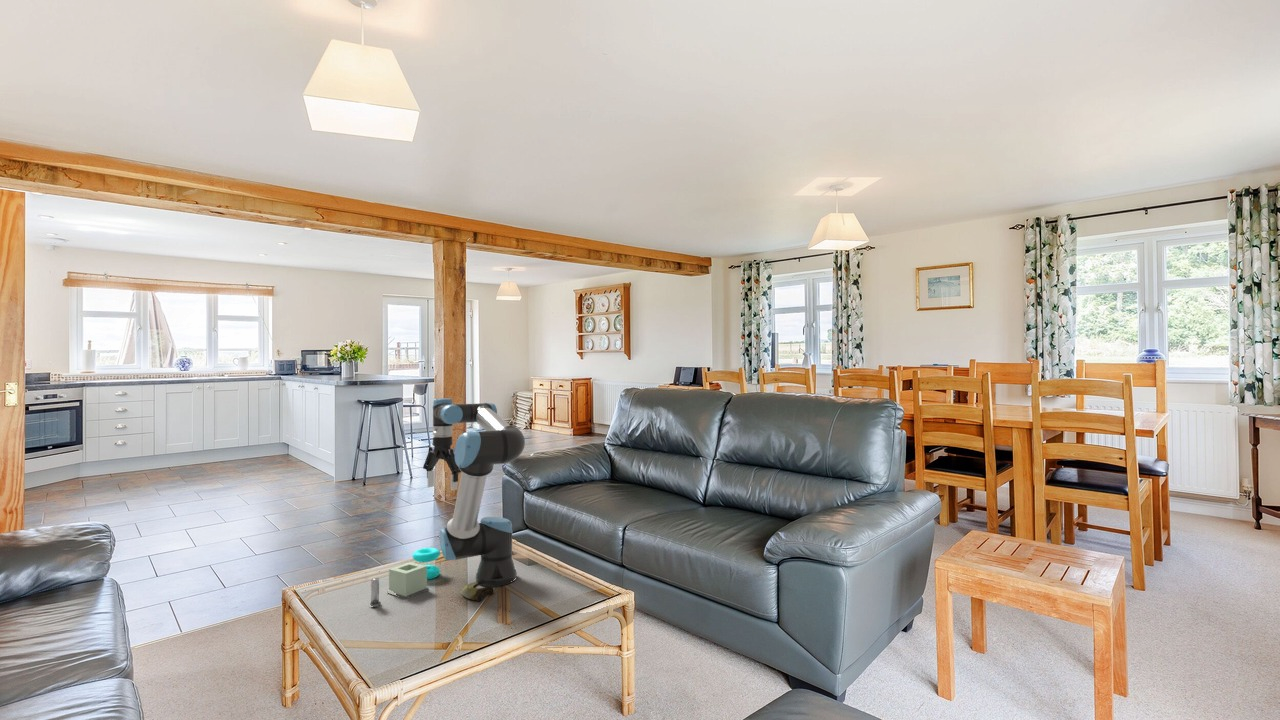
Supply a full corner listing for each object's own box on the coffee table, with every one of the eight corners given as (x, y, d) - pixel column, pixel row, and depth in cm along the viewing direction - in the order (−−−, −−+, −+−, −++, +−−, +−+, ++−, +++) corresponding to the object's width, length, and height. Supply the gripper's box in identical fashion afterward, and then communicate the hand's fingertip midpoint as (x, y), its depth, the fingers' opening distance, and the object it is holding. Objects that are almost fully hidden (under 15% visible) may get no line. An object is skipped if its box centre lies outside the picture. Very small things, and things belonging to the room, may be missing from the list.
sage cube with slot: (426, 588, 212) (426, 566, 212) (405, 596, 204) (405, 573, 204) (410, 583, 216) (410, 562, 217) (388, 591, 209) (389, 569, 209)
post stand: (382, 604, 198) (383, 578, 199) (373, 608, 195) (373, 581, 195) (376, 602, 200) (376, 576, 200) (366, 606, 197) (366, 579, 197)
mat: (428, 589, 212) (428, 588, 212) (405, 599, 203) (405, 597, 203) (410, 584, 217) (410, 583, 217) (386, 593, 208) (386, 591, 208)
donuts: (443, 551, 225) (415, 556, 219) (442, 577, 224) (415, 583, 219) (436, 545, 233) (410, 549, 228) (436, 570, 233) (410, 575, 227)
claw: (497, 600, 203) (497, 590, 203) (467, 605, 199) (467, 595, 199) (484, 583, 221) (484, 574, 221) (456, 588, 216) (456, 579, 216)
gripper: (414, 435, 242) (414, 486, 241) (457, 438, 229) (456, 493, 229) (429, 433, 248) (428, 483, 248) (471, 436, 236) (471, 489, 235)
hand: (442, 488), depth 238 cm, fingers open, 13 cm apart
